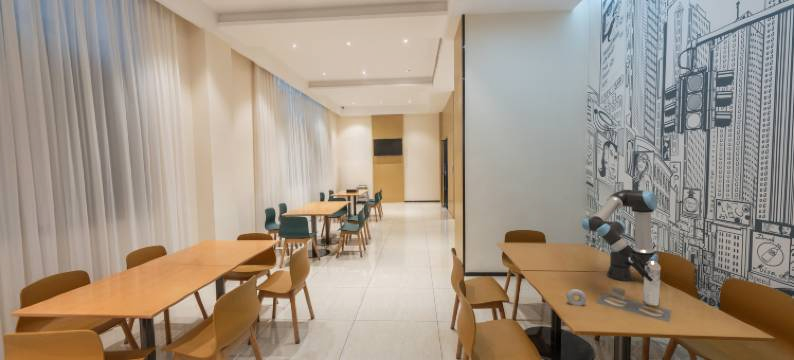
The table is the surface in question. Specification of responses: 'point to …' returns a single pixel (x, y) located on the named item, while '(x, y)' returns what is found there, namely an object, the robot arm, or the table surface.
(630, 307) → the board
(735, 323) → the table surface
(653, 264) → the water bottle
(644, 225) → the robot arm
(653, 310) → the ochre tag coaster
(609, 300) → the white tag coaster
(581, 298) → the donut
